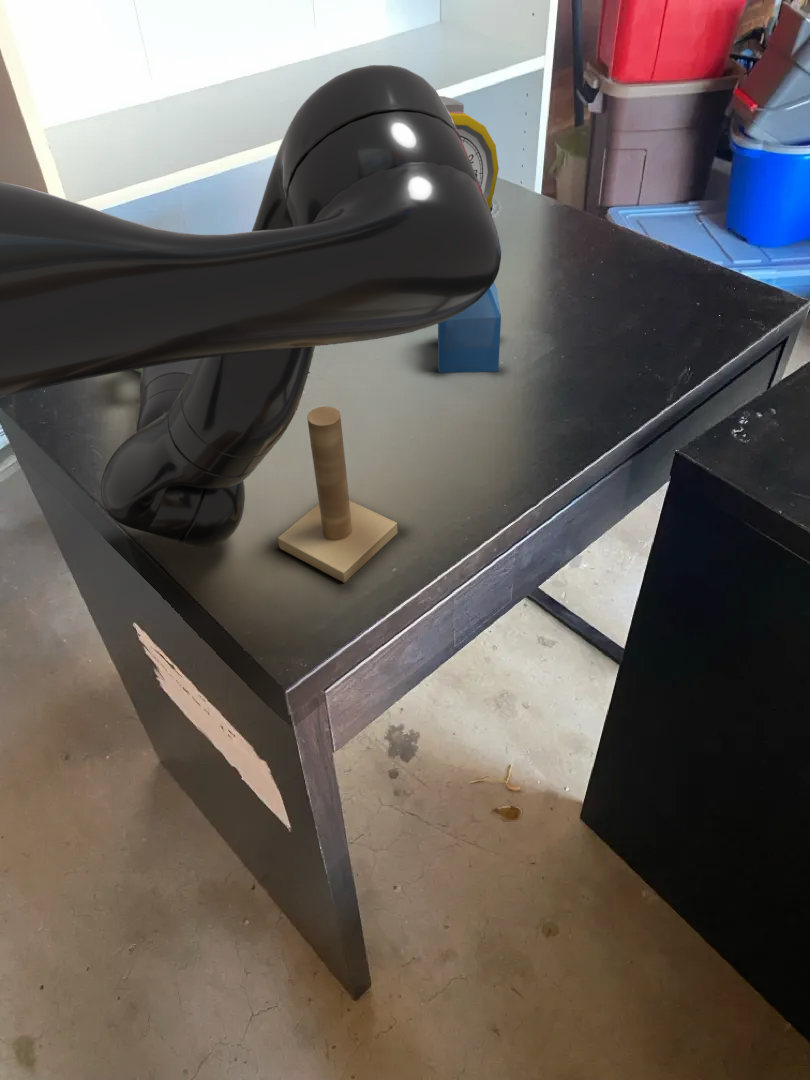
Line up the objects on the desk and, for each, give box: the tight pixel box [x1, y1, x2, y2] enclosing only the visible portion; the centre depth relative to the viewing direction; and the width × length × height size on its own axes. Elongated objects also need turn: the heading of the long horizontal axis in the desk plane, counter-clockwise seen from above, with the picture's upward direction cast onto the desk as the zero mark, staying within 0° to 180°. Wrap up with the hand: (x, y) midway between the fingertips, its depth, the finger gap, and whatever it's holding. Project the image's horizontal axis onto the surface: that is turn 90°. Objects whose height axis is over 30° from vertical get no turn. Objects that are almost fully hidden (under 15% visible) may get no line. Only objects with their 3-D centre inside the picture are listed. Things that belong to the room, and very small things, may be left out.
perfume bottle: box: [437, 281, 502, 374], centre depth 84 cm, size 6×6×12 cm
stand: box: [277, 406, 398, 584], centre depth 64 cm, size 7×7×12 cm
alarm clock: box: [439, 95, 500, 210], centre depth 101 cm, size 15×8×18 cm, turn 118°
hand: (191, 297), depth 87 cm, fingers open, 8 cm apart
